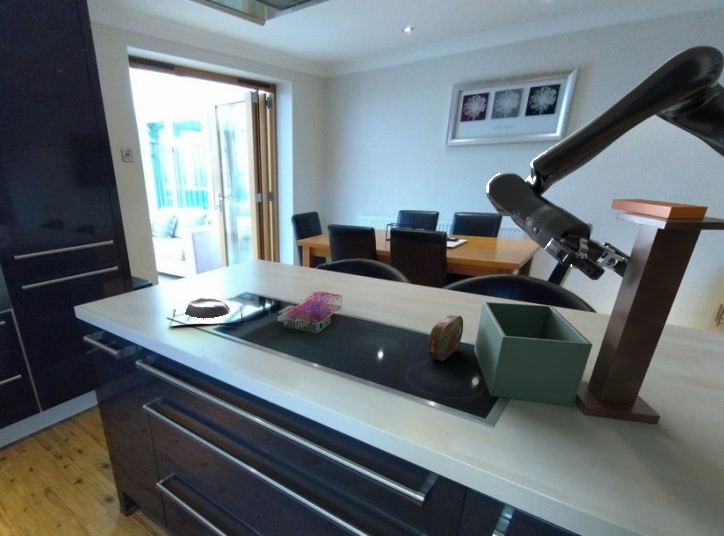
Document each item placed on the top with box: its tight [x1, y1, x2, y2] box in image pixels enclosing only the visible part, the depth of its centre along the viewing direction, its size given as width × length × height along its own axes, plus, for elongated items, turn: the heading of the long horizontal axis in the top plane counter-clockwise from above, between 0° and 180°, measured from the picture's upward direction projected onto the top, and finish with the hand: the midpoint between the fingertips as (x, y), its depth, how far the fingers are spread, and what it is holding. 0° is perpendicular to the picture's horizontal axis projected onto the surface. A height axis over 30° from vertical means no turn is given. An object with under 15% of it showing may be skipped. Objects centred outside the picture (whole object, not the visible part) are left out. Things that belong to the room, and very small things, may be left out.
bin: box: [473, 301, 594, 407], centre depth 78 cm, size 13×21×12 cm, turn 162°
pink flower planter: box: [277, 291, 343, 334], centre depth 117 cm, size 30×15×5 cm, turn 150°
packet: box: [610, 198, 709, 219], centre depth 62 cm, size 4×18×2 cm, turn 162°
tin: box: [427, 314, 464, 362], centre depth 88 cm, size 15×3×8 cm, turn 137°
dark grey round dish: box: [185, 297, 230, 319], centre depth 120 cm, size 21×20×4 cm
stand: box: [574, 211, 724, 425], centre depth 63 cm, size 10×14×32 cm
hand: (618, 277), depth 67 cm, fingers open, 8 cm apart
